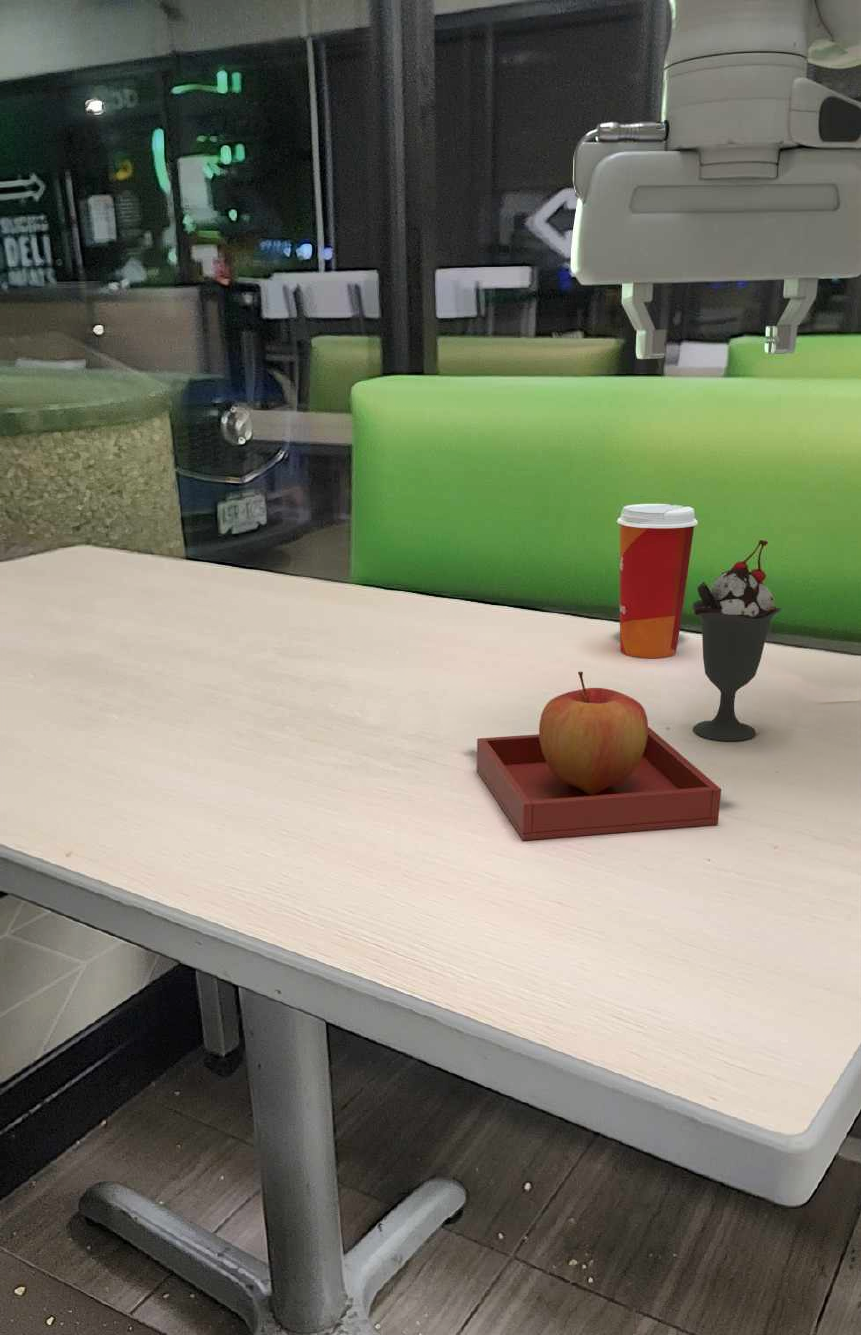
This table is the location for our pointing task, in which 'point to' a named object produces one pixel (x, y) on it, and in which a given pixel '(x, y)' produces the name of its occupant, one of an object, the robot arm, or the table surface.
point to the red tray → (553, 809)
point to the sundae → (733, 641)
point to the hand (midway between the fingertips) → (715, 356)
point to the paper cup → (653, 576)
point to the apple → (593, 737)
